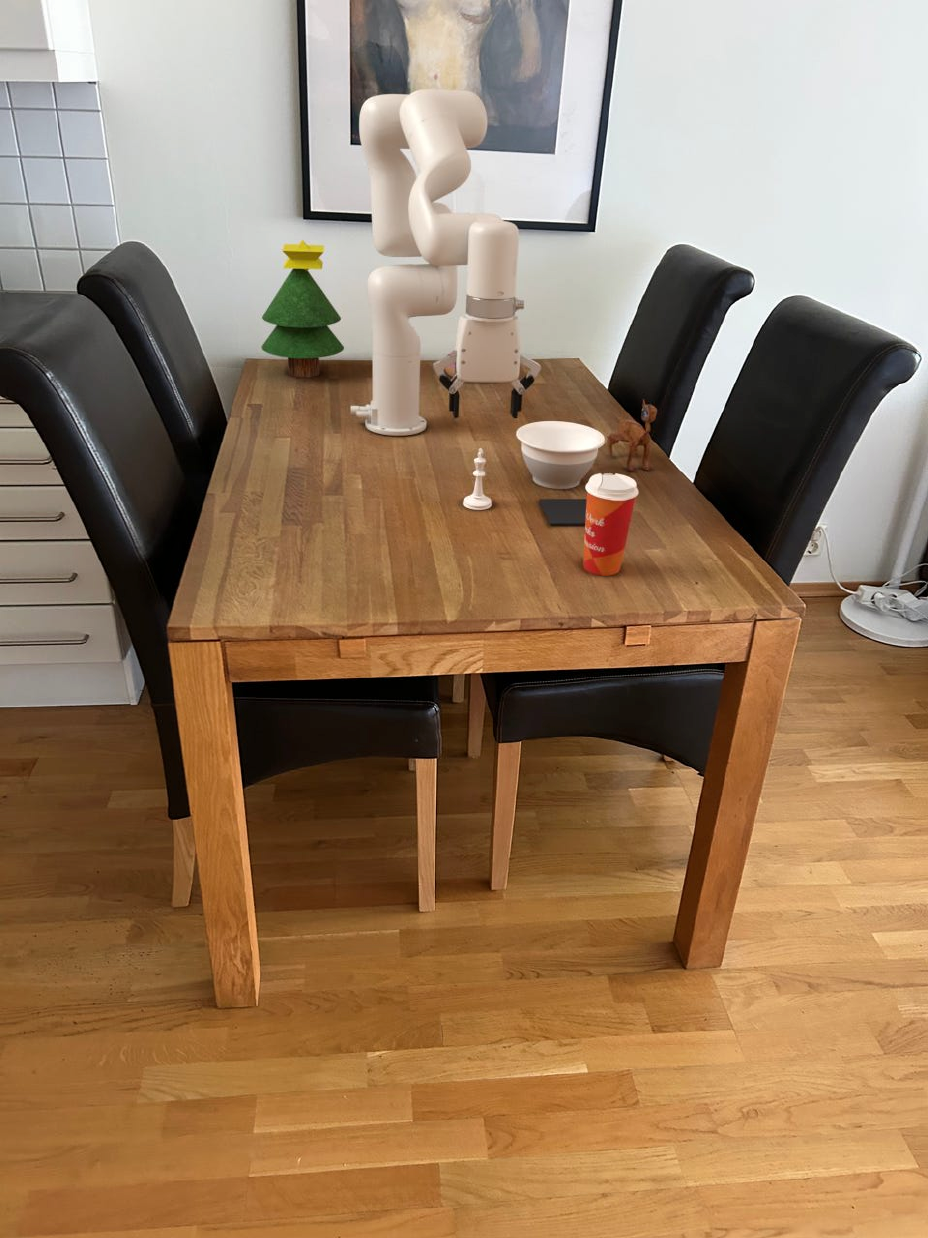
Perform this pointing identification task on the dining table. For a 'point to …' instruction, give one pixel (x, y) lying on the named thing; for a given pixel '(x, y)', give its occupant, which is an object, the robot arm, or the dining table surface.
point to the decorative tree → (302, 315)
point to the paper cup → (607, 521)
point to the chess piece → (478, 487)
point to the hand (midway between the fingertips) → (484, 415)
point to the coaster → (565, 511)
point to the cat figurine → (635, 436)
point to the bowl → (559, 452)
